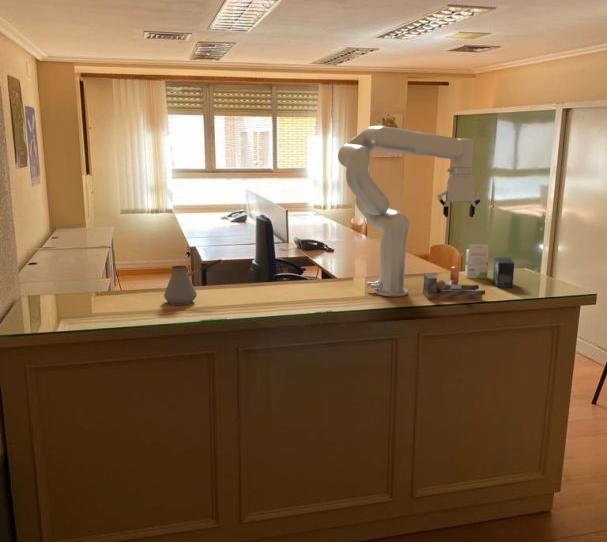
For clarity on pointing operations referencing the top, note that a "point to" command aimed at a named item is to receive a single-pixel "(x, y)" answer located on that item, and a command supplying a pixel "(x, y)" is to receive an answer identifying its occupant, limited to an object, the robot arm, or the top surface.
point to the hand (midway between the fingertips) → (458, 216)
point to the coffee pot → (182, 285)
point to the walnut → (440, 285)
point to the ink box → (477, 261)
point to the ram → (454, 279)
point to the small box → (503, 272)
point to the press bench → (450, 291)
